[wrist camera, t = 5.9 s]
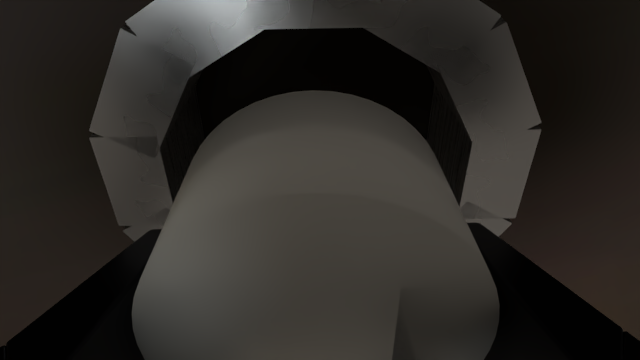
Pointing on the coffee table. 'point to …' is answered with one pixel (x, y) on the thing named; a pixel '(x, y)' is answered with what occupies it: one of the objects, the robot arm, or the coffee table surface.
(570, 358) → the robot arm
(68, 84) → the coffee table surface
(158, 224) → the grey segmented ring
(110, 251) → the coffee table surface
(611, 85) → the coffee table surface
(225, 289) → the white short cylinder
